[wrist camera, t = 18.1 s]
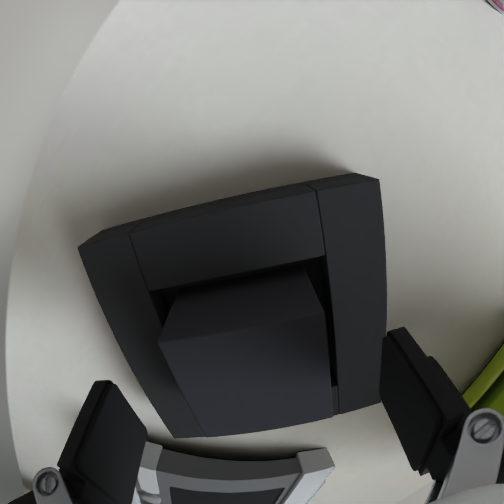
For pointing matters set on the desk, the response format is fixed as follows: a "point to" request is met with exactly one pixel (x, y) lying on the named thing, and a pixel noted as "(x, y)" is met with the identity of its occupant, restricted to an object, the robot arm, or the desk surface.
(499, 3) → the pill bottle
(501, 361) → the flower pot
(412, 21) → the desk surface
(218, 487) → the alarm clock
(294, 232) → the base pad
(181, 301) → the dark grey square block
